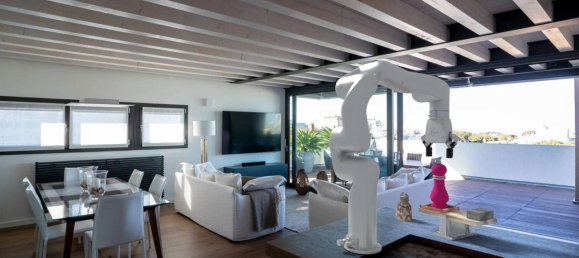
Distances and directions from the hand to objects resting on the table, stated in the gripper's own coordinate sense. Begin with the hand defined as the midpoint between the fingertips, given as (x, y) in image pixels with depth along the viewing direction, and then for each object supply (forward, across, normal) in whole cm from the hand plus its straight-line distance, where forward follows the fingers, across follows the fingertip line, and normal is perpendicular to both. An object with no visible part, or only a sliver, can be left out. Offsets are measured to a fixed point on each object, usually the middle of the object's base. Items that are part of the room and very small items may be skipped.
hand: (438, 157), depth 135 cm
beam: (+23, +7, +1) cm, 24 cm away
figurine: (+30, -19, +1) cm, 35 cm away
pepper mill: (+21, -1, +2) cm, 21 cm away
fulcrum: (+30, +7, +1) cm, 30 cm away
